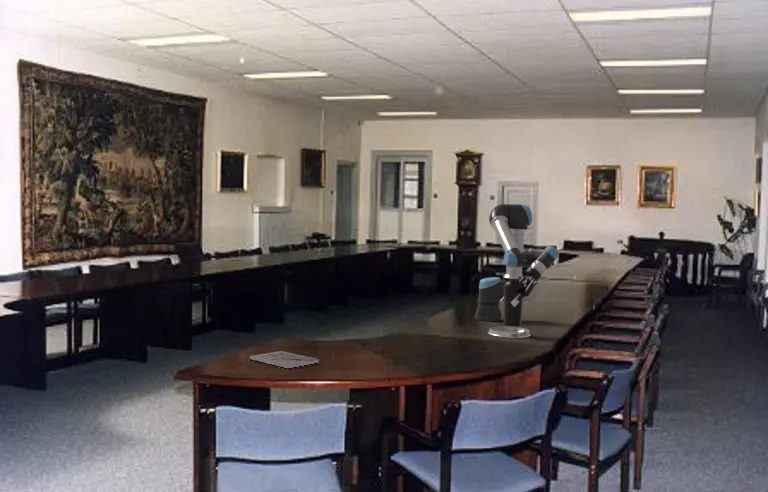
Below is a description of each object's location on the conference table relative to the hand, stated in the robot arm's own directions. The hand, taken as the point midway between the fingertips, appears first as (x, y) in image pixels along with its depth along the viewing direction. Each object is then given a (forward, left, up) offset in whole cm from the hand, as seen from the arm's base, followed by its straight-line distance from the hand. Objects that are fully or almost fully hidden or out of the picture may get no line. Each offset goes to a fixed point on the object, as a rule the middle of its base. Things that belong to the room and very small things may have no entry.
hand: (507, 303), depth 392 cm
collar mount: (0, +2, -15) cm, 15 cm away
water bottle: (-1, +3, -11) cm, 11 cm away
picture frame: (+66, -112, -16) cm, 131 cm away
